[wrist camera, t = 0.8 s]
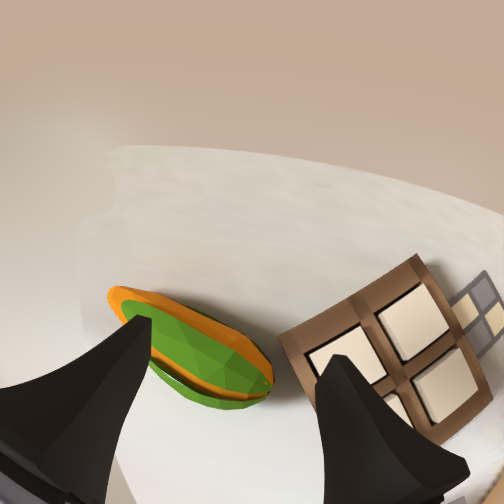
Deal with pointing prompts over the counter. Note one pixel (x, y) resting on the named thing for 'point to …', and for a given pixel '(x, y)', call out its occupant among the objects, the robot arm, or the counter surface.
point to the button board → (390, 347)
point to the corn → (198, 351)
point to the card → (479, 313)
